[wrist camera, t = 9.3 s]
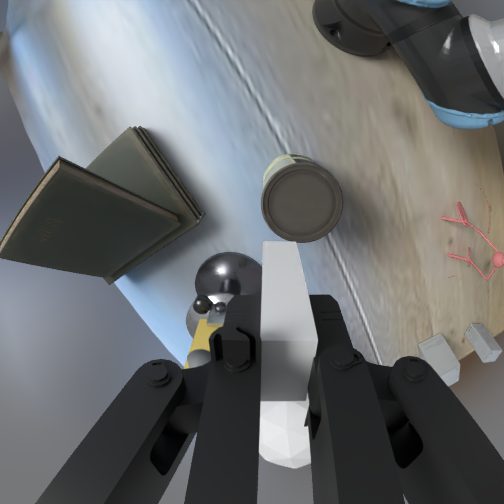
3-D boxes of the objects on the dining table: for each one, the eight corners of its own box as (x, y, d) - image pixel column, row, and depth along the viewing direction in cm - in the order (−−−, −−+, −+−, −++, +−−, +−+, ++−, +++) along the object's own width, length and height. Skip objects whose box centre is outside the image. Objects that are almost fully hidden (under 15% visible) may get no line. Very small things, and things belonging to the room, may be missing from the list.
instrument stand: (268, 252, 53) (268, 308, 37) (266, 314, 59) (266, 377, 43) (193, 251, 54) (165, 304, 38) (200, 312, 60) (181, 372, 44)
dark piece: (121, 270, 57) (60, 348, 34) (69, 197, 50) (-16, 246, 28) (206, 213, 51) (160, 287, 28) (145, 125, 44) (54, 135, 22)
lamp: (216, 400, 64) (246, 476, 43) (327, 318, 67) (389, 376, 46) (261, 429, 74) (293, 490, 53) (353, 362, 77) (402, 412, 56)
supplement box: (417, 344, 62) (435, 378, 51) (441, 332, 61) (461, 364, 49) (418, 360, 65) (434, 394, 53) (441, 349, 63) (459, 381, 52)
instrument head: (240, 312, 41) (229, 380, 29) (241, 356, 45) (234, 421, 33) (198, 310, 41) (176, 375, 30) (205, 354, 45) (189, 417, 33)
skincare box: (463, 334, 61) (482, 363, 50) (471, 322, 59) (491, 350, 48) (475, 335, 61) (494, 362, 50) (483, 323, 60) (503, 349, 49)
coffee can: (318, 149, 45) (339, 158, 32) (325, 207, 49) (345, 237, 36) (257, 157, 46) (254, 169, 33) (267, 215, 50) (267, 248, 38)
